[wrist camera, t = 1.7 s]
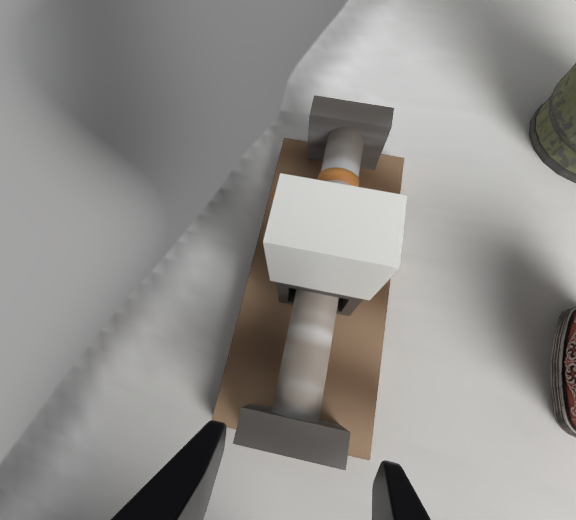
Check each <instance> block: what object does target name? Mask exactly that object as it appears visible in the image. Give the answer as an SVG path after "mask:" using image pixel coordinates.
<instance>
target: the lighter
mask: <svg viewBox="0 0 576 520" xmlns="http://www.w3.org/2000/svg"><path fill="white" fill-rule="evenodd" d="M551 392H552V400H553V407H554V415H555V418H556V421H557V423H558V424H559V425H560V427H561V428H562V429H563V430H564V431H565V432H566V433H568V434H569V435H571V436H573V437H575V438H576V307H575V308H572V309H568V310H566V311H564V312H563V313H562V314H561V316H560V317H559V321H558V324H557V328H556V332H555V335H554V340H553V347H552V355H551Z"/></svg>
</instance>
